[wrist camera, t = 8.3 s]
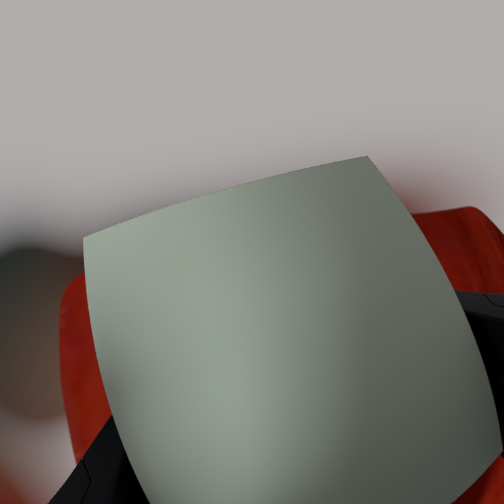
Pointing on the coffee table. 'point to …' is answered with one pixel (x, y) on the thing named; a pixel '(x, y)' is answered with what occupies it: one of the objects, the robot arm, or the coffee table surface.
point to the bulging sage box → (289, 348)
